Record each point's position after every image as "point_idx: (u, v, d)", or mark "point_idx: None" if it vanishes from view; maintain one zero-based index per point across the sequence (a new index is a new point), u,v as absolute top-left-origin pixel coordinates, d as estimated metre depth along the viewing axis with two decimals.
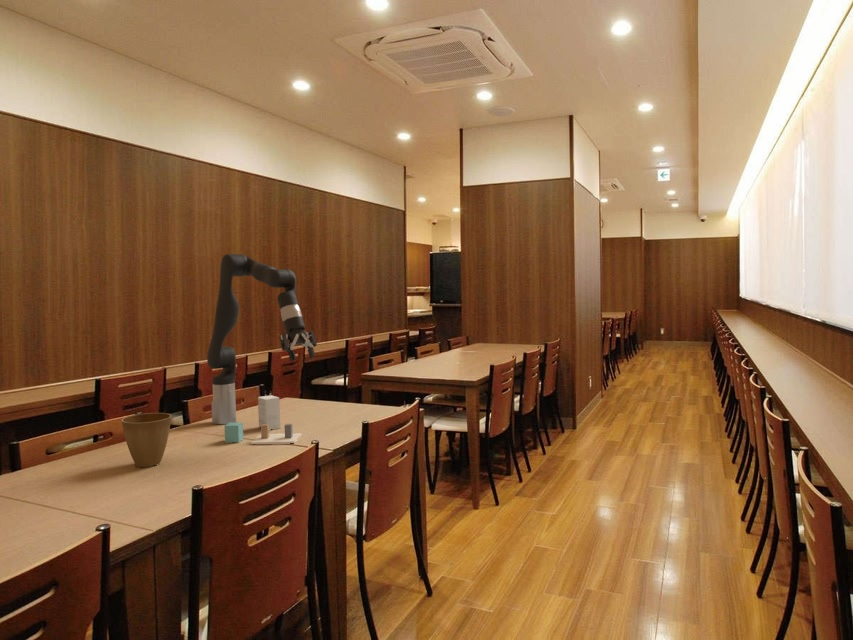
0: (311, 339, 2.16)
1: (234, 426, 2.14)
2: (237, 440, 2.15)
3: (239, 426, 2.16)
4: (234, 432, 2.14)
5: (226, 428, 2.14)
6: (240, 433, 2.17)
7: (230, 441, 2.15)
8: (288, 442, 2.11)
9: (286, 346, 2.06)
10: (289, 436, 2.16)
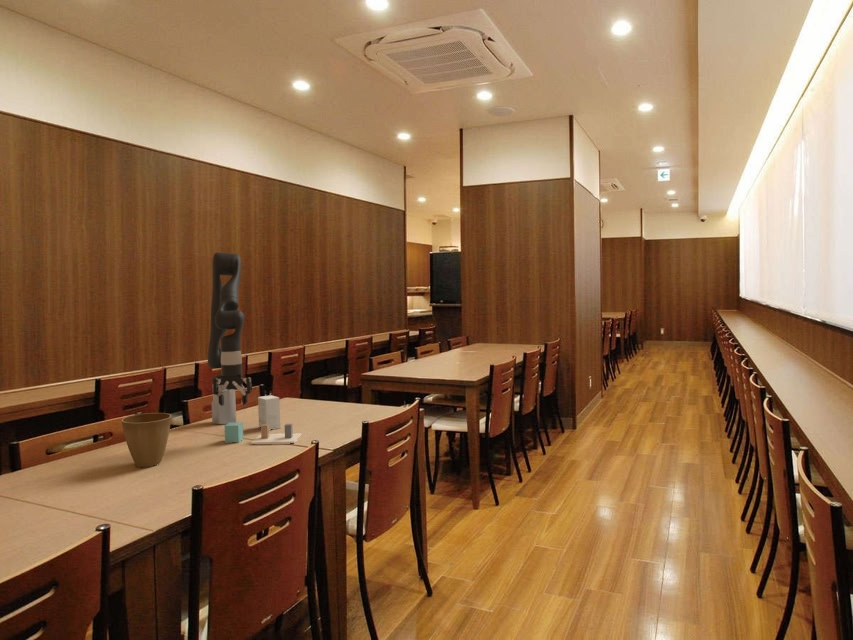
0: None
1: (234, 426, 2.14)
2: (237, 440, 2.15)
3: (239, 426, 2.16)
4: (234, 432, 2.14)
5: (226, 428, 2.14)
6: (240, 433, 2.17)
7: (230, 441, 2.15)
8: (288, 442, 2.11)
9: (214, 392, 2.15)
10: (289, 436, 2.16)
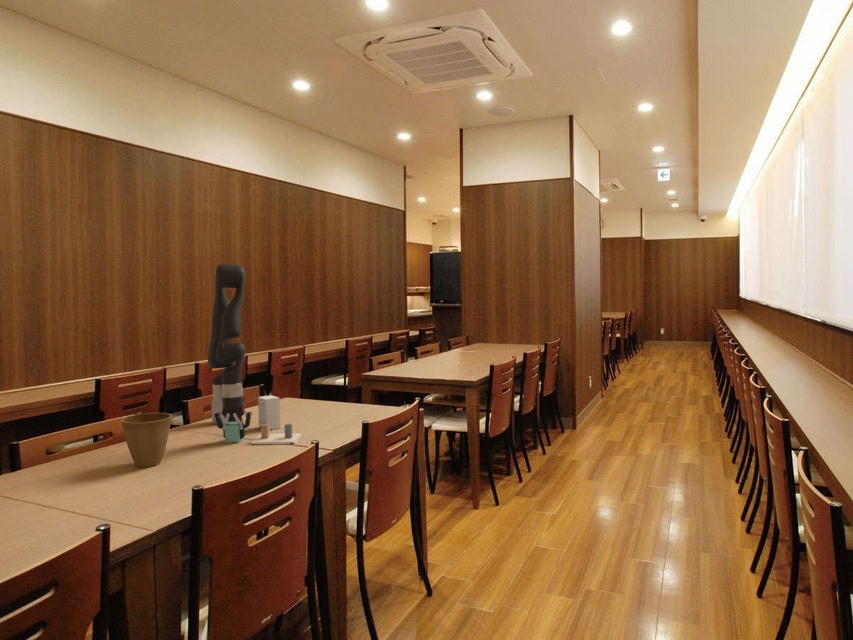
0: None
1: (234, 426, 2.14)
2: (237, 440, 2.15)
3: (239, 426, 2.16)
4: (234, 432, 2.14)
5: (226, 428, 2.14)
6: None
7: (230, 441, 2.15)
8: (288, 442, 2.11)
9: (218, 425, 2.16)
10: (289, 436, 2.16)
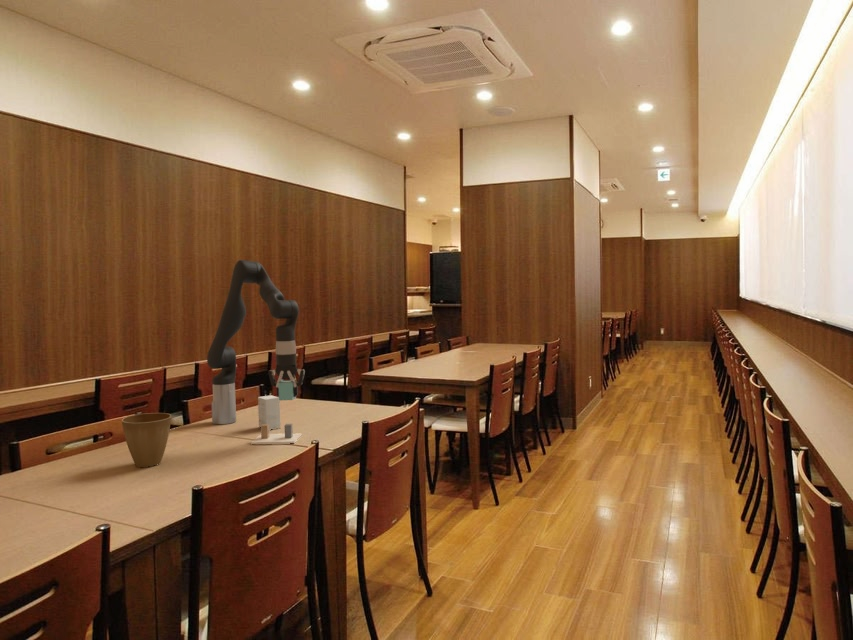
0: None
1: (288, 383, 2.13)
2: (291, 397, 2.14)
3: None
4: (288, 389, 2.13)
5: (280, 385, 2.13)
6: (293, 391, 2.16)
7: (284, 398, 2.14)
8: (288, 442, 2.11)
9: (272, 383, 2.15)
10: (289, 436, 2.16)
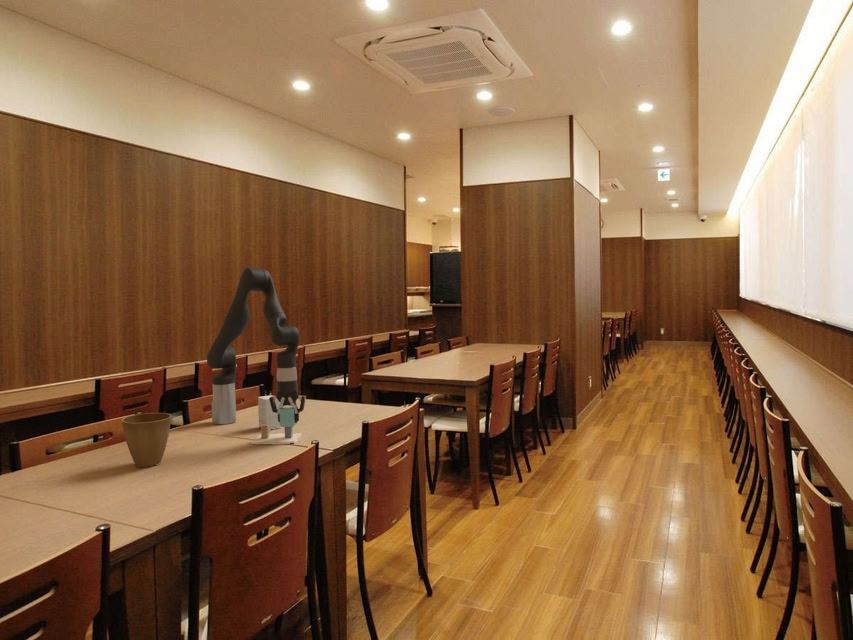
0: None
1: (289, 410, 2.14)
2: (292, 424, 2.14)
3: None
4: (289, 415, 2.14)
5: (281, 412, 2.14)
6: (294, 417, 2.16)
7: (285, 425, 2.14)
8: (288, 442, 2.11)
9: (273, 410, 2.15)
10: (289, 436, 2.16)
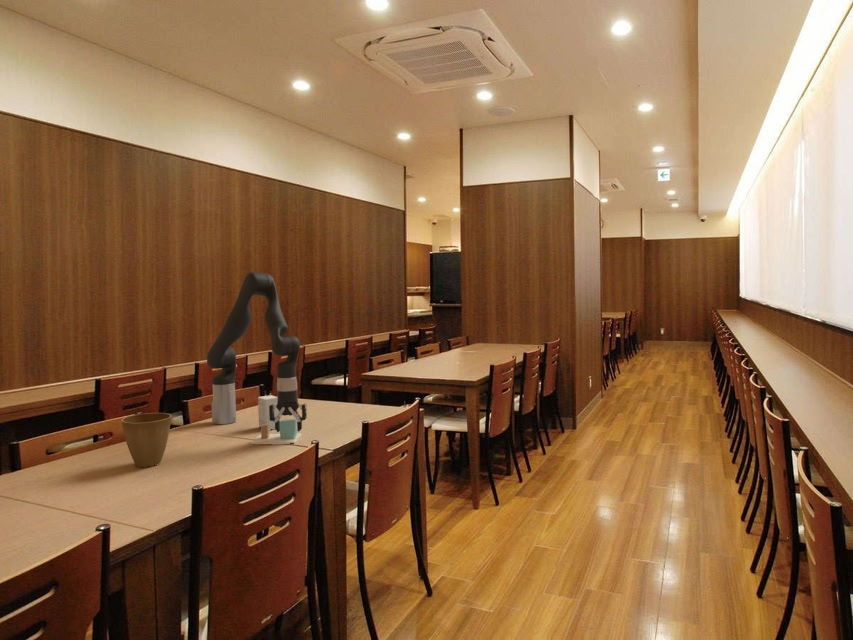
0: None
1: (289, 422, 2.14)
2: (292, 436, 2.14)
3: (294, 422, 2.16)
4: (289, 428, 2.14)
5: (281, 424, 2.14)
6: (295, 429, 2.17)
7: (285, 437, 2.14)
8: (288, 442, 2.11)
9: (270, 418, 2.16)
10: None
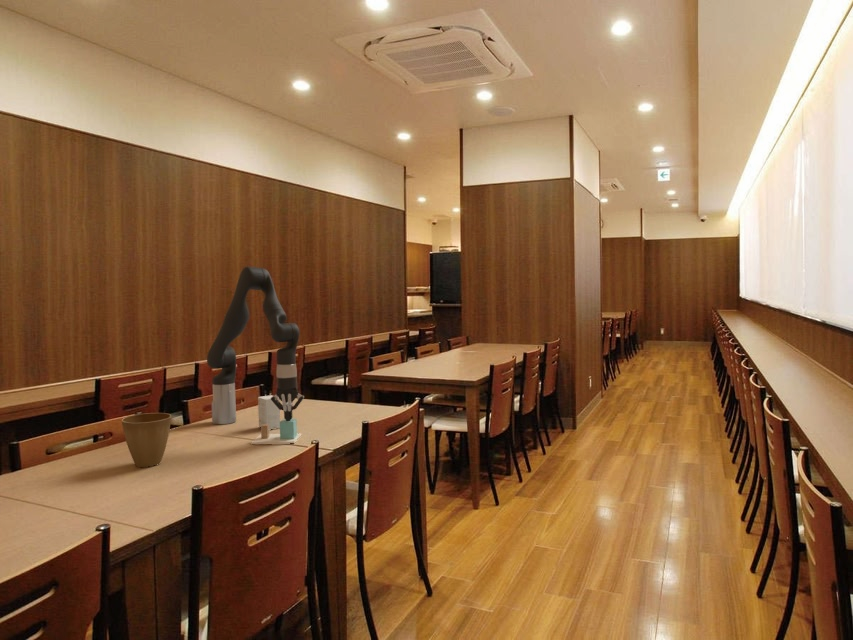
0: (296, 402, 2.16)
1: (289, 422, 2.14)
2: (292, 436, 2.14)
3: (294, 422, 2.16)
4: (289, 428, 2.14)
5: (281, 424, 2.14)
6: (295, 429, 2.17)
7: (285, 437, 2.14)
8: (288, 442, 2.11)
9: (279, 407, 2.15)
10: None
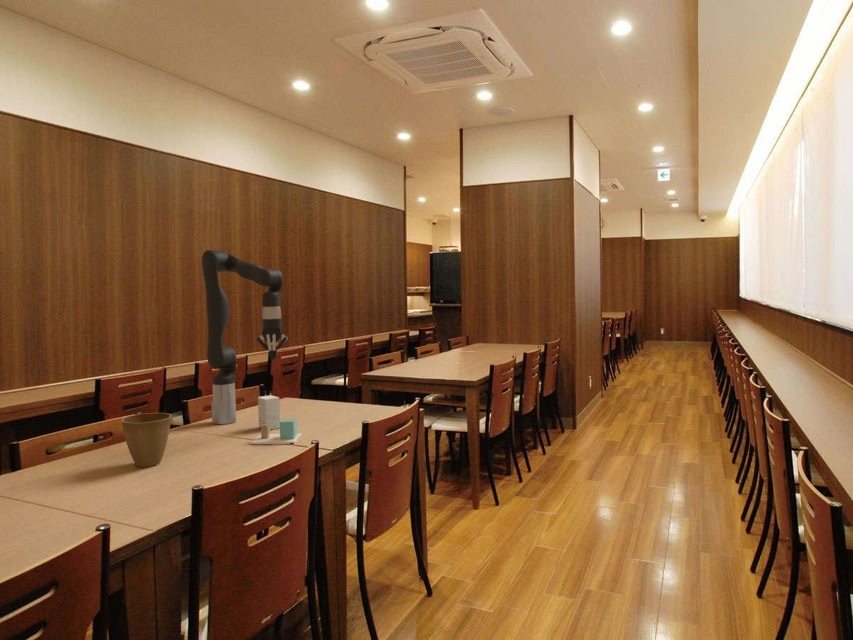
0: (280, 342, 2.33)
1: (289, 422, 2.14)
2: (292, 436, 2.14)
3: (294, 422, 2.16)
4: (289, 428, 2.14)
5: (281, 424, 2.14)
6: (295, 429, 2.17)
7: (285, 437, 2.14)
8: (288, 442, 2.11)
9: (265, 347, 2.32)
10: None
